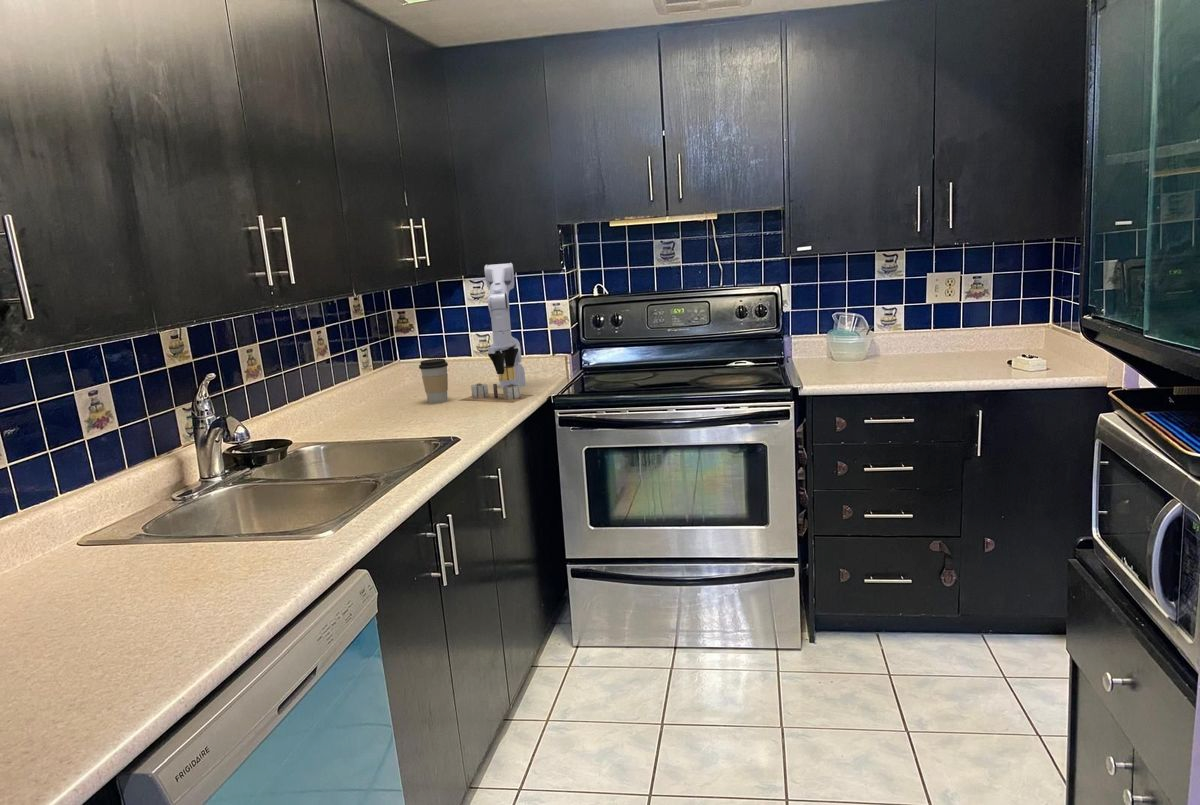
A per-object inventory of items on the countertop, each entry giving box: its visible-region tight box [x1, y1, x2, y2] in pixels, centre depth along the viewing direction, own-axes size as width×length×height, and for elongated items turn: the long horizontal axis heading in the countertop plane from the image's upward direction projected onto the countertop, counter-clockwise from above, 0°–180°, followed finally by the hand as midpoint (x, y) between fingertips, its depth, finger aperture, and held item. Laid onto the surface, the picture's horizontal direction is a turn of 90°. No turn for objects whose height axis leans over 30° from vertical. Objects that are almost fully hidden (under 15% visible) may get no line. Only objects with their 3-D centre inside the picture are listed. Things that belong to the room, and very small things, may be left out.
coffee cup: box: [418, 358, 449, 404], centre depth 267 cm, size 9×9×15 cm
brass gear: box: [497, 366, 516, 382], centre depth 265 cm, size 5×5×4 cm
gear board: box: [458, 382, 534, 404], centre depth 266 cm, size 12×22×6 cm, turn 61°
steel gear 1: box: [470, 383, 489, 399], centre depth 269 cm, size 5×5×4 cm
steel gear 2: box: [502, 384, 522, 400], centre depth 262 cm, size 5×5×4 cm
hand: (505, 372), depth 265 cm, fingers closed on brass gear, 5 cm apart
